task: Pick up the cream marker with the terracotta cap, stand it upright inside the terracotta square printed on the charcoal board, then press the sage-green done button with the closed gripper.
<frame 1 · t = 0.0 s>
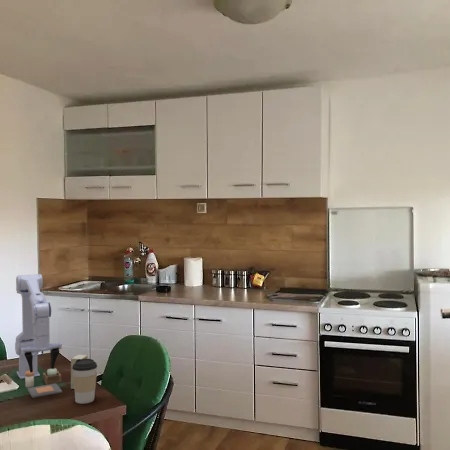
hand: (41, 370, 192), 10 cm above the table, tool pointing down, fingers open, 7 cm apart
coffee cup: (84, 400, 188), on the table
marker: (29, 386, 203), on the table
button housing: (52, 381, 208), on the table
colouring board: (44, 391, 197), on the table
skincare box: (79, 387, 202), on the table
done button: (52, 373, 208), point 3 cm above the table, slide at 0.0 cm
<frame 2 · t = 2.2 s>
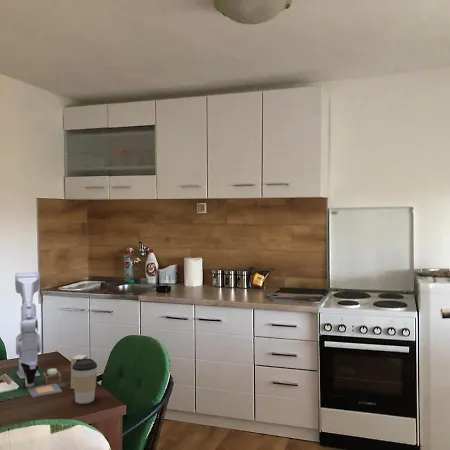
hand: (29, 382, 203), 2 cm above the table, tool pointing down, fingers closed on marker, 3 cm apart
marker: (29, 386, 203), on the table, touching gripper
everything else where it was.
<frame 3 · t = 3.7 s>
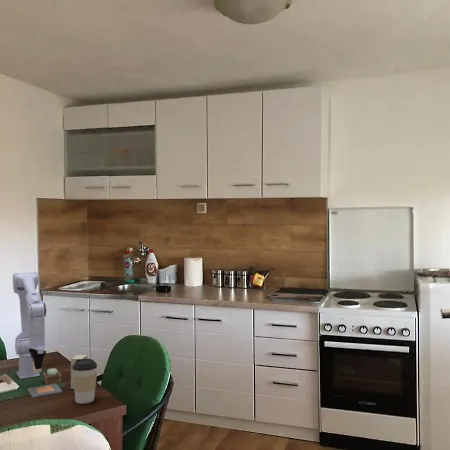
hand: (37, 367, 199), 9 cm above the table, tool pointing down, fingers closed on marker, 3 cm apart
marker: (37, 371, 199), point 7 cm above the table, touching gripper
everything else where it was.
when the fingers open (3 cm above the table, at t = 5.3 s): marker stays where it is, resting on colouring board.
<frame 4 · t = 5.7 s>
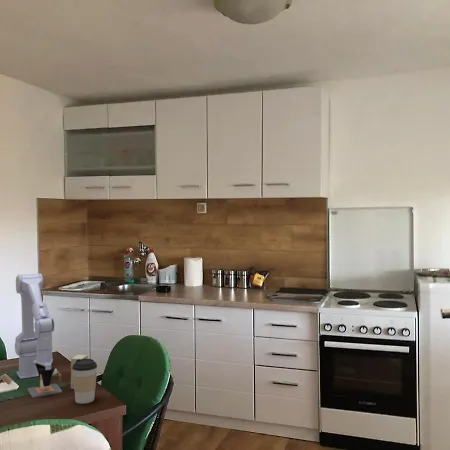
hand: (44, 383, 197), 3 cm above the table, tool pointing down, fingers open, 7 cm apart
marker: (44, 389, 197), point 1 cm above the table, touching colouring board
everything else where it was.
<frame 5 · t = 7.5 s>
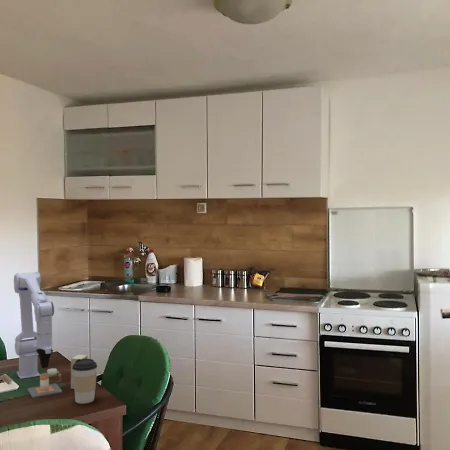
hand: (44, 367, 197), 9 cm above the table, tool pointing down, fingers closed
nothing on the table moved.
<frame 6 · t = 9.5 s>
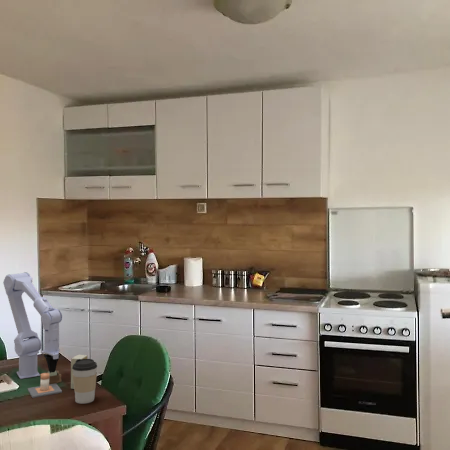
hand: (52, 371, 208), 4 cm above the table, tool pointing down, fingers closed, pressing on done button
done button: (52, 375, 208), point 2 cm above the table, slide at 0.8 cm, touching gripper
everything else where it was.
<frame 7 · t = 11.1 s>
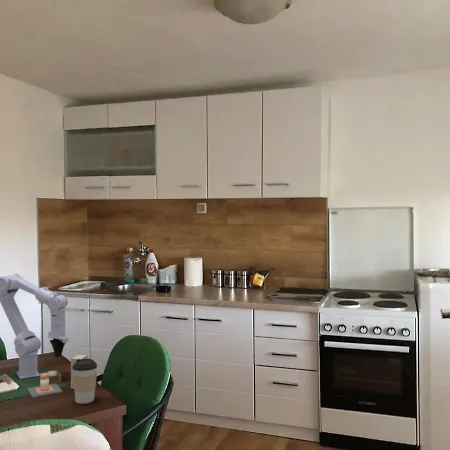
hand: (58, 356, 211), 9 cm above the table, tool pointing down, fingers closed
done button: (52, 375, 208), point 2 cm above the table, slide at 0.9 cm
everything else where it was.
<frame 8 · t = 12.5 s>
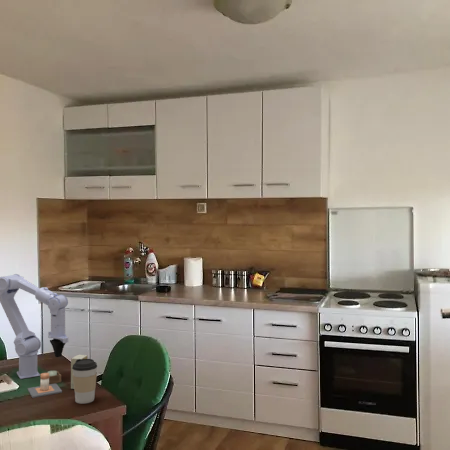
hand: (58, 356, 211), 9 cm above the table, tool pointing down, fingers closed
nothing on the table moved.
at the end: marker 0.0 cm off-centre on the colouring board, point 0.8 cm above the colouring board's base; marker tilted 3°; done button slide at 0.9 cm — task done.
